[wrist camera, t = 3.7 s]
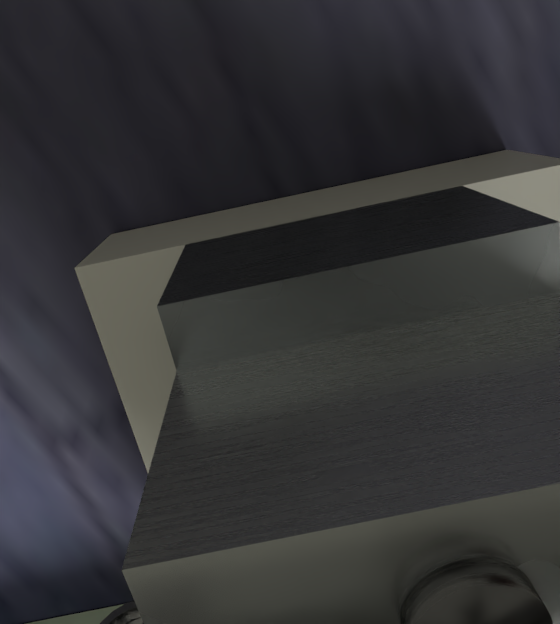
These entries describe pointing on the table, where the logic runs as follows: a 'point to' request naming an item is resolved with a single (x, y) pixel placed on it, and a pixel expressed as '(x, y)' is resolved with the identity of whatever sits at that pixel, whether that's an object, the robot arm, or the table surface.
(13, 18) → the table surface
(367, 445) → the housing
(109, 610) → the stand
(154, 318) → the stand
